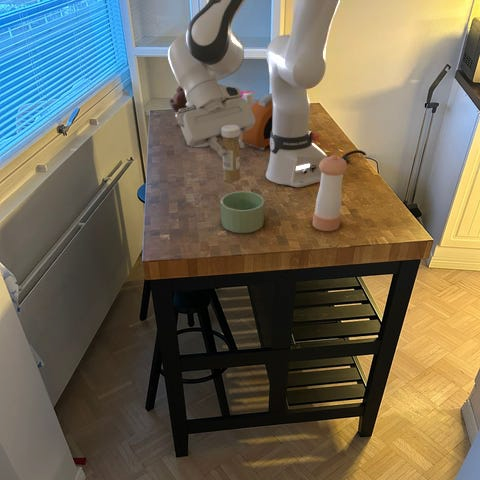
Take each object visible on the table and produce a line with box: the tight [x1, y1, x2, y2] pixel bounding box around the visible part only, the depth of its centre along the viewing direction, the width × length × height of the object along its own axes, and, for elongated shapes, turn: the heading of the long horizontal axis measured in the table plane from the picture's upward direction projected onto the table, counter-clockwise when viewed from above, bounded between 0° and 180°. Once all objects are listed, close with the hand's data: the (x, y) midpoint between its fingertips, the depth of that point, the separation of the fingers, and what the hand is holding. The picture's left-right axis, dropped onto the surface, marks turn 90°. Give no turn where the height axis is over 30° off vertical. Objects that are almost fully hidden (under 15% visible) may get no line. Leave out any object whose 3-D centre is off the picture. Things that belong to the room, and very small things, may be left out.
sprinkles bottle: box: [221, 125, 241, 183], centre depth 120 cm, size 5×5×13 cm
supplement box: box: [240, 90, 255, 108], centre depth 191 cm, size 6×6×12 cm
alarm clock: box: [242, 93, 273, 151], centre depth 172 cm, size 23×9×17 cm, turn 129°
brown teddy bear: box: [169, 85, 188, 128], centre depth 188 cm, size 11×11×15 cm
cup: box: [220, 190, 265, 234], centre depth 129 cm, size 12×12×6 cm
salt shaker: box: [312, 154, 348, 232], centre depth 123 cm, size 7×7×19 cm
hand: (232, 151), depth 119 cm, fingers closed on sprinkles bottle, 4 cm apart
